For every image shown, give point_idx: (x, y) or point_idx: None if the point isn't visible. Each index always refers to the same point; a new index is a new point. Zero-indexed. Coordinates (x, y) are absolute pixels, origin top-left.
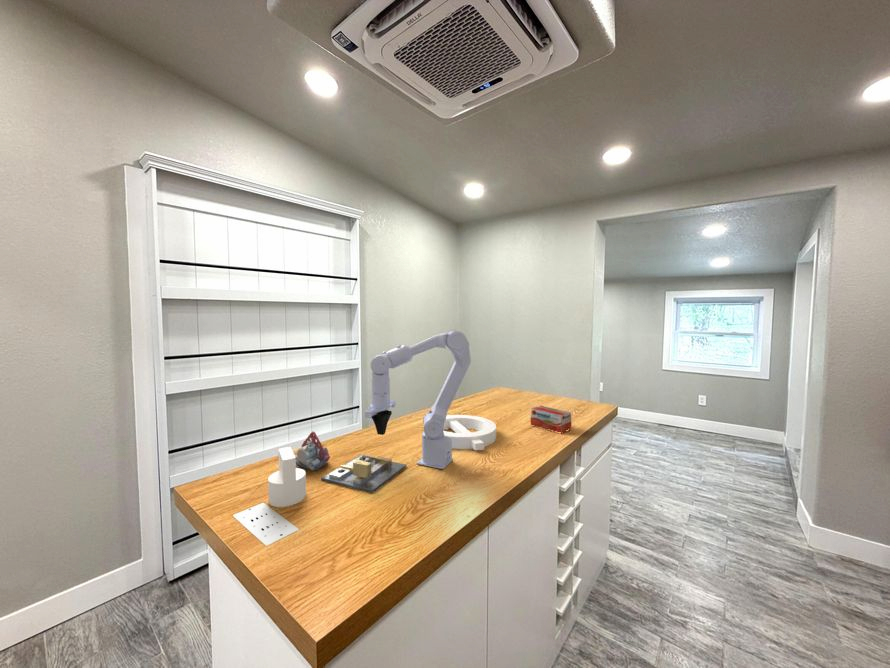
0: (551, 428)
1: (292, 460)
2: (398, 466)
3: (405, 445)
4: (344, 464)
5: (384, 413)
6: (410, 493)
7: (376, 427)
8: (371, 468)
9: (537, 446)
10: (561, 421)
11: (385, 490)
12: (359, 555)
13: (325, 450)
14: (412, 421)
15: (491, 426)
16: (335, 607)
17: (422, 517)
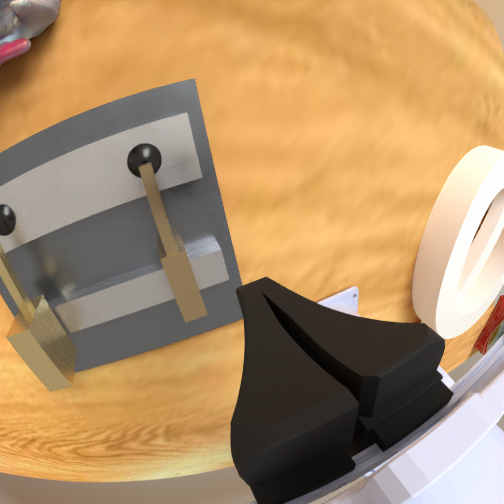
0: (485, 334)
1: None
2: (219, 310)
3: (392, 155)
4: (64, 122)
5: (352, 451)
6: (143, 415)
7: (246, 324)
8: (74, 368)
9: None
10: None
11: (98, 379)
12: (6, 449)
13: (17, 11)
14: (497, 59)
15: (484, 307)
16: None
17: (115, 458)
